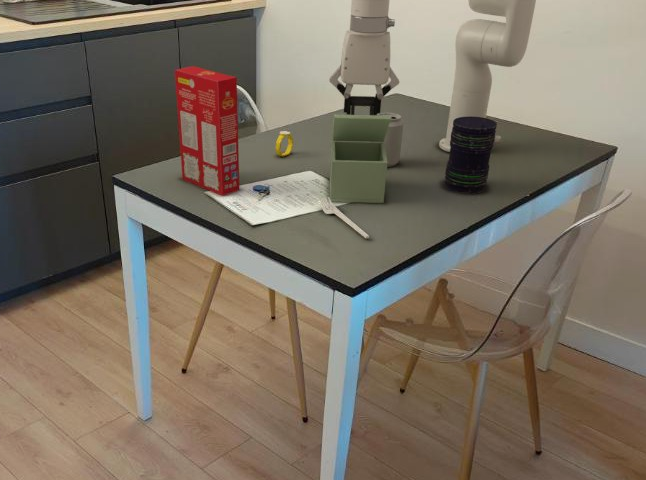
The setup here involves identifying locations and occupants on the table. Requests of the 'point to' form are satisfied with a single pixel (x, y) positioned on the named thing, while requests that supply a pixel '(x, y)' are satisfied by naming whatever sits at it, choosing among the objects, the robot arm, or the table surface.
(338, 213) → the fork
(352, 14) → the robot arm
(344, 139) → the box lid
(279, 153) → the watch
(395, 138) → the can
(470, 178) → the dark blue disc stack
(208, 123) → the food packaging
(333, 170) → the olive green lidded box
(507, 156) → the table surface
